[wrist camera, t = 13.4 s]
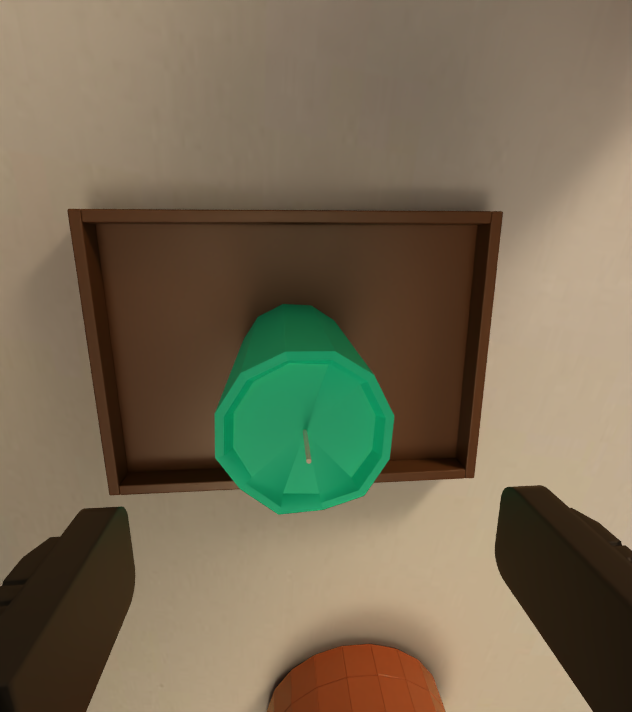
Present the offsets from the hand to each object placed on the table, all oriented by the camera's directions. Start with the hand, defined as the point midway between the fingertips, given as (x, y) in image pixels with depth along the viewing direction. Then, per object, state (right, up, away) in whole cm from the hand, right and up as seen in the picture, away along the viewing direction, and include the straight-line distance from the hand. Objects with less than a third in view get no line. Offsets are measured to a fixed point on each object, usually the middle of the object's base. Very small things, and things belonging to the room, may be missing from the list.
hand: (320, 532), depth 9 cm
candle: (-1, +4, +15) cm, 15 cm away
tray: (-1, +4, +15) cm, 16 cm away
